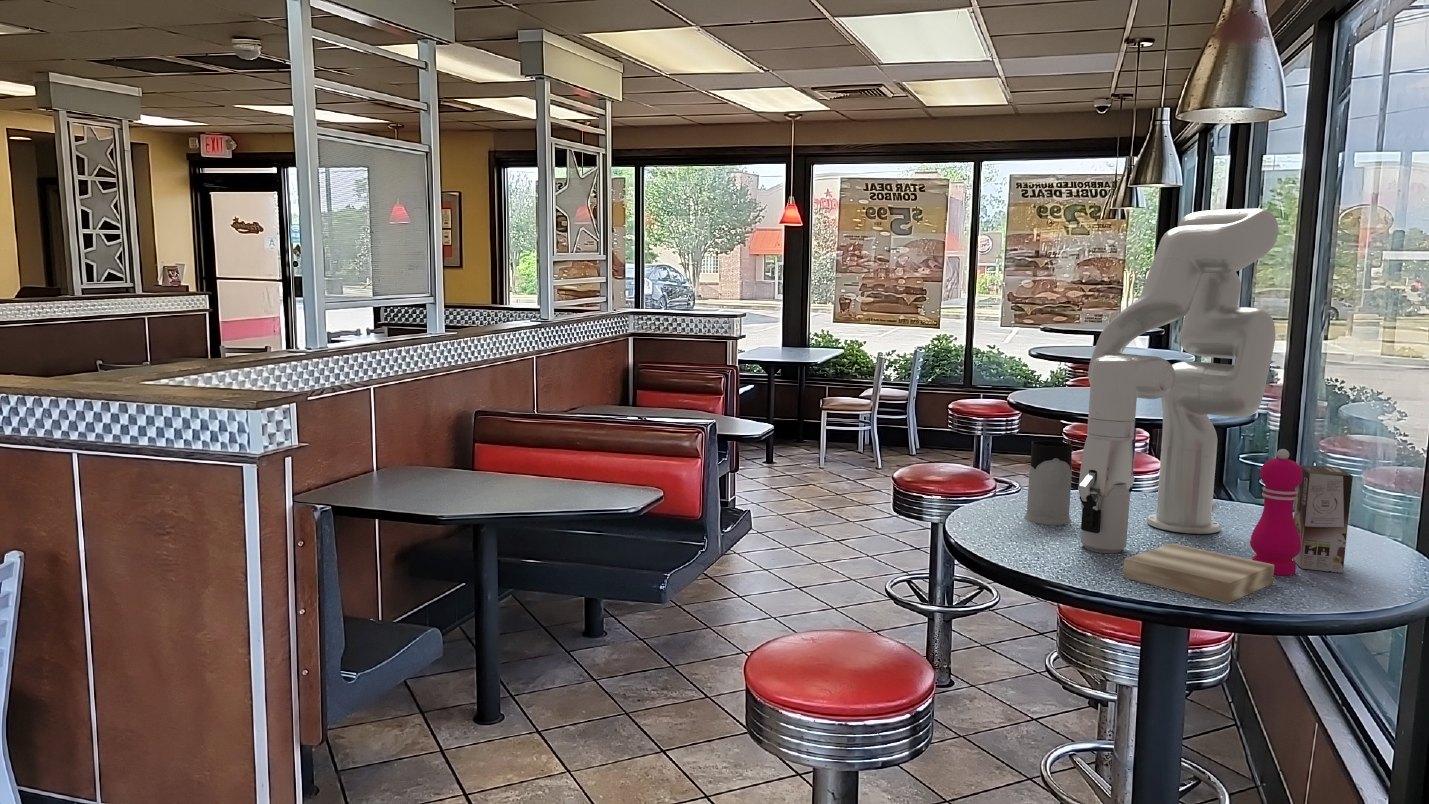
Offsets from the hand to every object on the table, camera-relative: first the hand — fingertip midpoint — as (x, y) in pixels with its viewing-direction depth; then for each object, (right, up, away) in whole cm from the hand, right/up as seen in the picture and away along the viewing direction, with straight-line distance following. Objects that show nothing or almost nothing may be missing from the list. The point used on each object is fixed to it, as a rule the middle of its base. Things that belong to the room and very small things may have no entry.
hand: (1104, 527), depth 175 cm
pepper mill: (+23, -6, -11) cm, 26 cm away
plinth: (+8, -6, -18) cm, 20 cm away
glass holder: (-2, -1, +25) cm, 25 cm away
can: (0, -4, +1) cm, 4 cm away
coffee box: (+33, -5, -7) cm, 34 cm away
